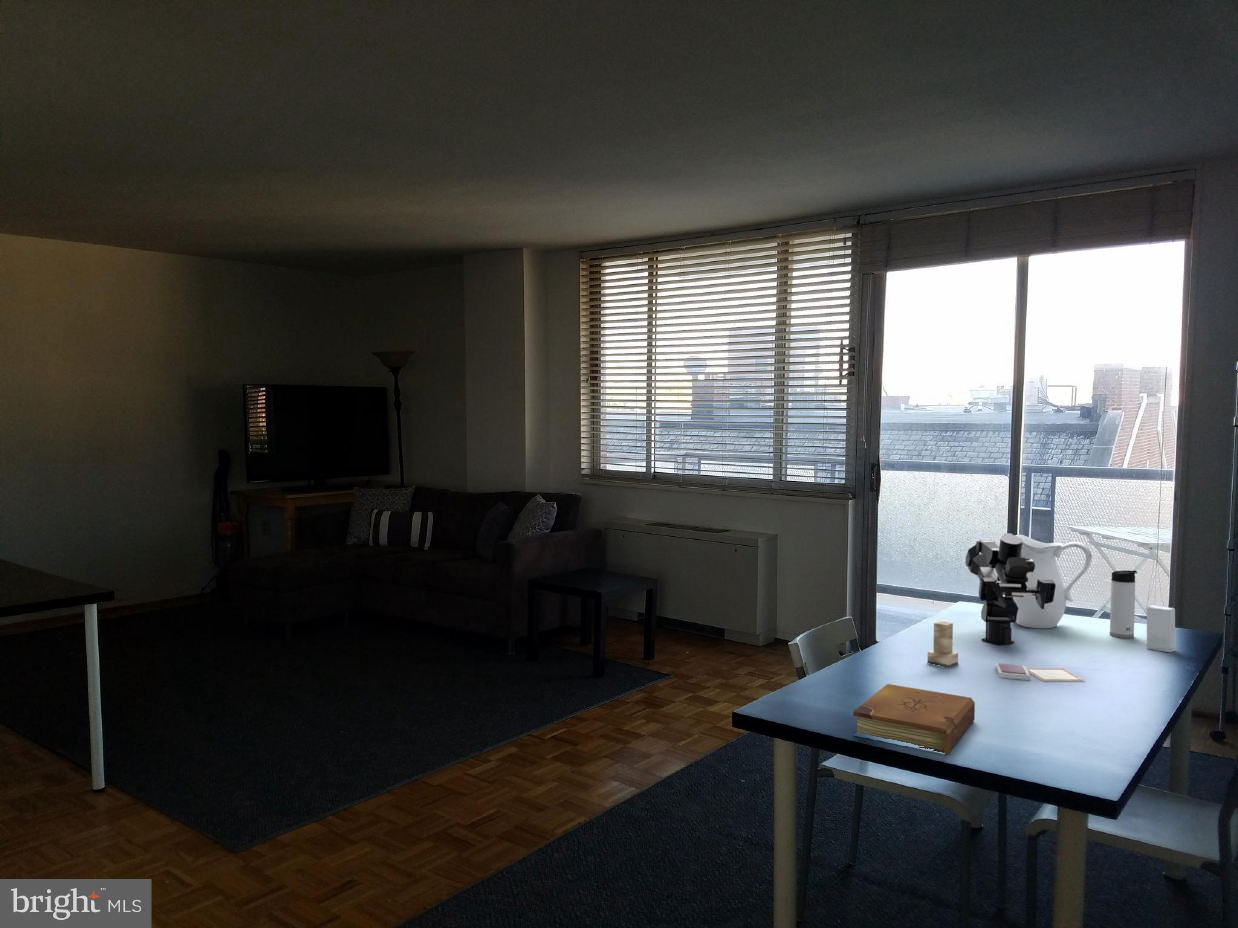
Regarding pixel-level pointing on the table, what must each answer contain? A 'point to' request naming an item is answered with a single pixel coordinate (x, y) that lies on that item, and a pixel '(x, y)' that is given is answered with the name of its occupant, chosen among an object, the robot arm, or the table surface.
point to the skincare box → (1161, 628)
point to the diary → (916, 717)
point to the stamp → (943, 646)
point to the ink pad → (1012, 671)
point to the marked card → (1053, 674)
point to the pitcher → (1048, 570)
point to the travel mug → (1122, 604)
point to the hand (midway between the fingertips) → (1024, 606)
